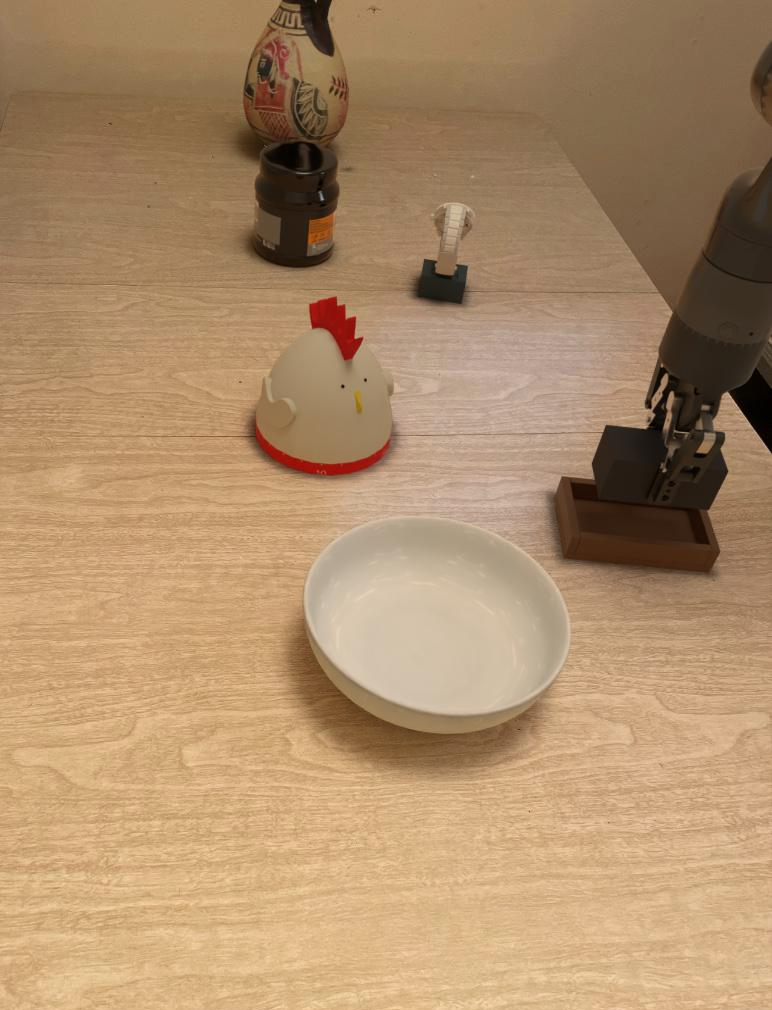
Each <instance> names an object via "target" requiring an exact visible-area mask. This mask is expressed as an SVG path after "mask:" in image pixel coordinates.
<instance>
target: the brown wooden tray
mask: <svg viewBox="0 0 772 1010" xmlns="http://www.w3.org/2000/svg"><path fill="white" fill-rule="evenodd" d="M553 499H554V505H555V511H556V518H557V523H558V529H559V530H558V531H559V535H560V541H561V547H562V548H561V549H562V553H563V558H564V559H568V560H579V561H586V562H587V561H589V562H597V563H598V562H599V563H607V564H608V563H610V564H619V565H626V566H627V565H628V566H638V567H647V568H648V567H649V568H657V569H668V570H678V571H688V572H698V573H708V574H709V573H710V572H711V571H712V569H713V567H714V565H715V563H716V562H717V559H718V557H719V556H720V554H721V549H720V545H719V543H718V539H717V536H716V532H715V530H714V527H713V524H712V521H711V518H710V514H709V511H708V510H702V509H692V508H682V507H673V506H660V505H651V504H644V503H634V502H625V501H615V500H605V499H599V497H598V492H597V487H596V483H595V478H594V479H593V478H586V477H585V478H584V477H576V476H575V477H574V476H565V475H561V477H560V479H559V482H558V486H557V488H556V491H555V493H554V497H553Z"/></svg>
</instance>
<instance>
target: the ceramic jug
mask: <svg viewBox="0 0 772 1010" xmlns="http://www.w3.org/2000/svg"><path fill="white" fill-rule="evenodd" d="M332 2H333V0H281V1H280V3H279V5H278V6H277V8H276V10H275V11H274V13H273V15H271V17H270V18H269V20H268V21H267V24H266V25H265V27H264V29H263V30H262V33H261V34H260V37H259V38H258V40H257V41H256V43H255V46H254V47H253V50H252V52H251V54H250V57H249V60H248V64H247V69H246V71H245V72H246V73H245V77H244V84H243V91H242V105H243V110H244V116H245V119H246V122H247V123H248V125H249V127H250V128H251V130H252V131H253V132H254V134H255V135H256V137H257V138H258V140H259V141H260V142H261V144H262V143H263V144H264V145H265V146H268V145H270V144H273V143H276V142H281V141H304V142H310V143H314V144H318V145H321V146H323V147H325V148H327V147H328V146H329V145H330V144H331V143H332V142H333V141H334V140H335V139H336V138H337V136H339V134H340V132H341V131H342V129H343V128H344V125H345V122H346V119H347V116H348V110H349V102H350V101H349V100H350V99H349V98H350V96H349V95H350V94H349V93H350V88H349V79H348V75H347V71H346V66H345V62H344V59H343V56H342V53H341V50H340V48H339V46H338V43H337V41H336V39H335V37H334V34H333V32H332V29H331V27H330V23H329V19H328V18H329V12H330V7H331V5H332ZM263 144H262V145H263ZM264 148H265V147H264V146H263V149H264Z"/></svg>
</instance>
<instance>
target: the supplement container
mask: <svg viewBox="0 0 772 1010" xmlns="http://www.w3.org/2000/svg"><path fill="white" fill-rule="evenodd" d="M258 163H259V168H258V170H259V173H258V174H257V175H256V177H255V179H254V185H253V187H254V192H255V193H254V220H253V221H254V223H253V234H252V242H253V246H254V248H255V250H256V251H257V253H258V254H259V255H261V256H262V258H264V259H265V260H267V261H270V262H271V263H275V264H278V265H281V266H286V267H287V266H288V267H294V268H295V267H300V268H301V267H310V266H315V265H317V264H320V263H322V262H324V261H326V260H327V259H328V258H329V257H331V255H332V253H333V251H334V248H335V235H336V233H335V232H336V223H337V214H338V202H339V197H340V193H341V187H340V184H339V181H338V179H337V178H338V171H339V158H338V156H337V155H336V154H335V153H334V152H333V151H332V150H331V149H330V148H327V147H326V148H325V147H323V146H321V145H318V144H314V143H310V142H304V141H281V142H276V143H273V144H270V145H268V146H266V147H265V148H264V147H263V148H262V149H261V150H260V152H259V162H258Z"/></svg>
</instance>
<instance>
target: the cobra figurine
mask: <svg viewBox="0 0 772 1010" xmlns="http://www.w3.org/2000/svg"><path fill="white" fill-rule="evenodd" d="M430 221H433V224H434V226H435V229H436V233H437V237H438V238H440V243H439V247H438V248H439V249H438V254H437V260H435V259H428V258H423V263H422V268H421V272H420V279H419V284H418V290H417V297H416V298H423V299H428V300H434V301H440V302H447V303H453V304H459V305H462V304H463V299H464V294H465V289H466V284H467V278H468V269H469V265H466V264H459V263H457V262H458V258H459V253H458V252H459V251H458V250H459V247H460V242H461V241H464V239H465V238H466V236H467V235H468V234H469V233H470V232H471V231H472V230H473V228H474V225H475V222H476V214H475V212H474V211H473V209H472V208H471V207H469V206H468V205H466V204H463V203H460V202H446V203H442V204H441V205H439V206H438V207H436V208H435V211H434V213H431V214H430Z"/></svg>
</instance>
